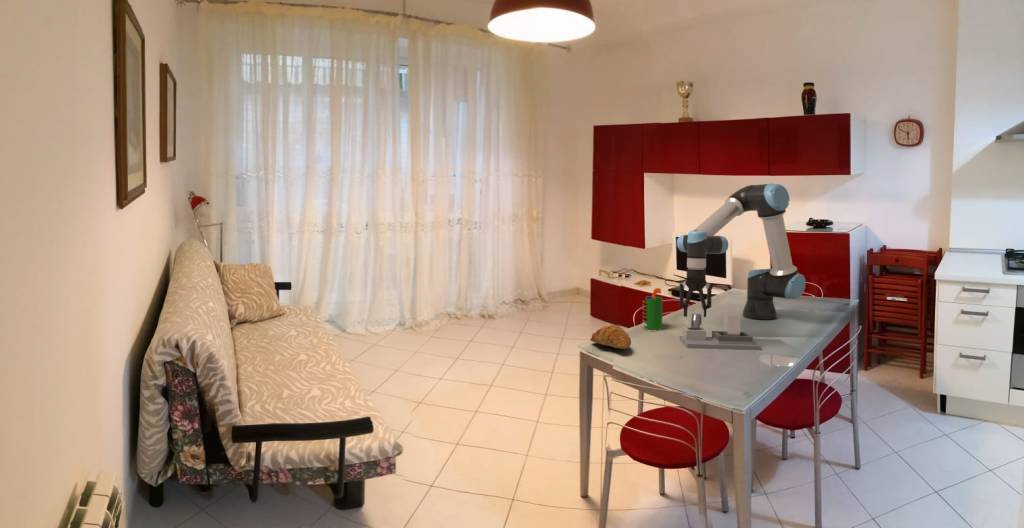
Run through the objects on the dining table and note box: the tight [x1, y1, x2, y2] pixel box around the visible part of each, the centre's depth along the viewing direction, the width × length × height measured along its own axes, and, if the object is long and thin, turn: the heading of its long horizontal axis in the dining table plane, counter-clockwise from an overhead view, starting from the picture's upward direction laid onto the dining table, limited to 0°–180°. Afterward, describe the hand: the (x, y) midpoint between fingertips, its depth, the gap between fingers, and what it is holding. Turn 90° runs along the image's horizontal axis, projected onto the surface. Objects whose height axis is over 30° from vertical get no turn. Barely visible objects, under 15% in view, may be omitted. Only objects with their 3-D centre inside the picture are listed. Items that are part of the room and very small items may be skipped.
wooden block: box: [723, 312, 742, 336], centre depth 253 cm, size 5×6×10 cm
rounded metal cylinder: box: [690, 313, 701, 330], centre depth 258 cm, size 4×4×10 cm
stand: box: [679, 326, 762, 351], centre depth 253 cm, size 28×18×6 cm, turn 84°
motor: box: [642, 287, 663, 331], centre depth 280 cm, size 10×9×20 cm
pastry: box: [589, 324, 632, 350], centre depth 250 cm, size 21×13×8 cm, turn 36°
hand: (694, 324), depth 258 cm, fingers open, 5 cm apart
